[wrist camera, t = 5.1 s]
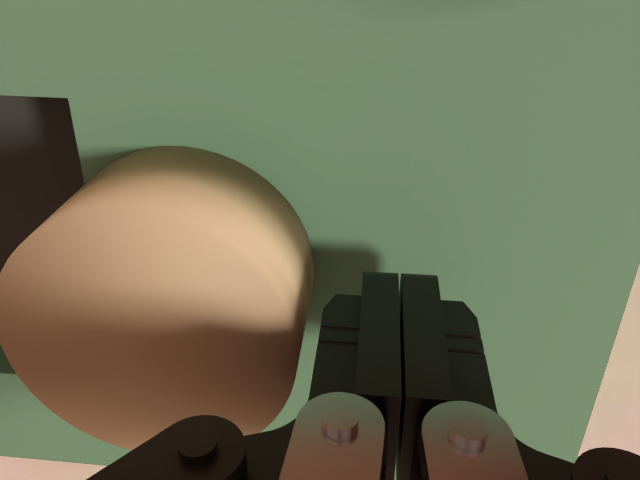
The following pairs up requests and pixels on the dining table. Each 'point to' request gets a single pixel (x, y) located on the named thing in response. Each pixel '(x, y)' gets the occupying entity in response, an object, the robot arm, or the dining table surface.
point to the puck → (161, 298)
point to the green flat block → (362, 163)
